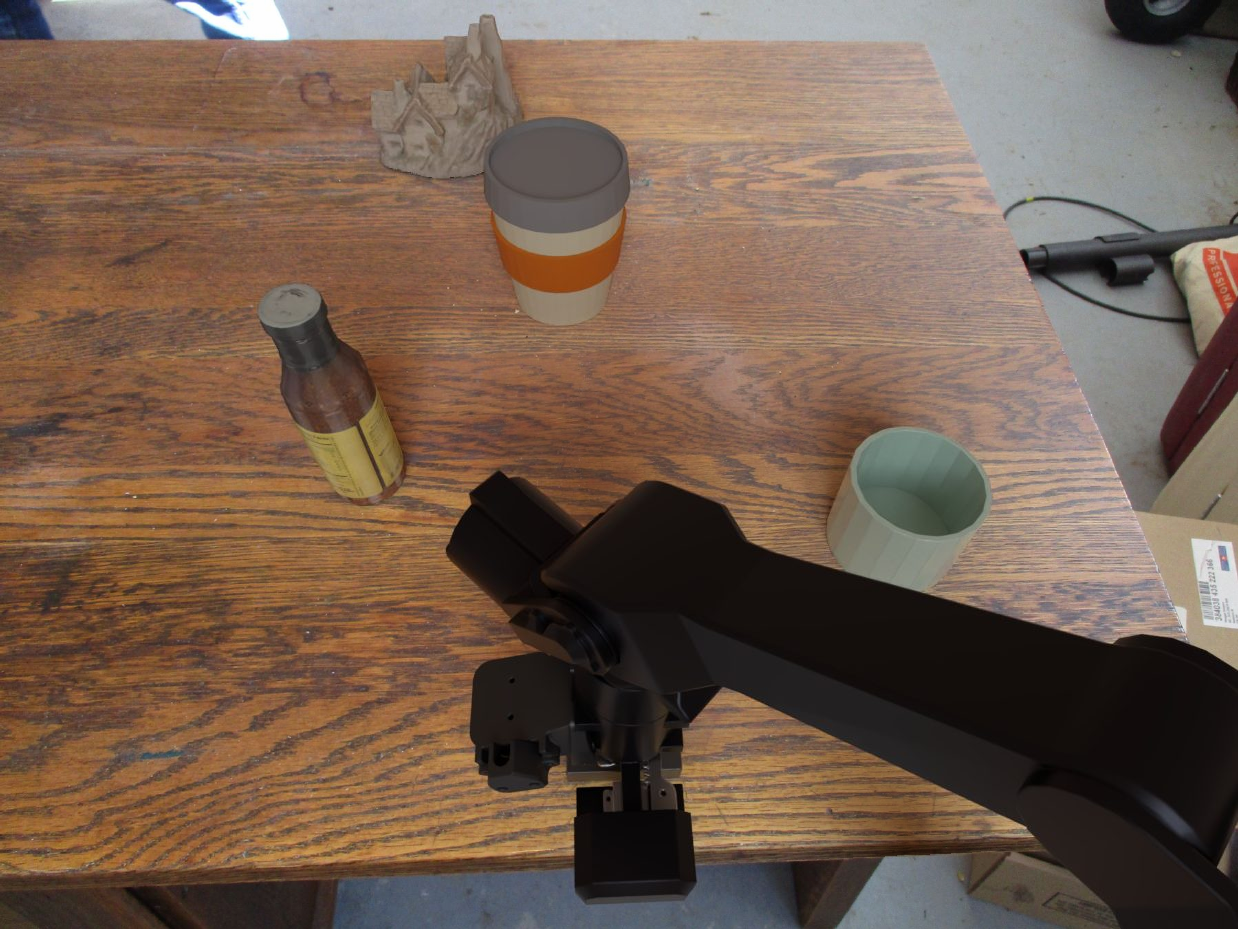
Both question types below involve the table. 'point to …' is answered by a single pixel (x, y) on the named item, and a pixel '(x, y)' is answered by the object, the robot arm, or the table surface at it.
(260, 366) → the table surface
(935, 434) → the cup
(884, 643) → the robot arm
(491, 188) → the reusable coffee cup
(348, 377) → the sauce bottle
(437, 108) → the ceramic cottage
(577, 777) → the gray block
